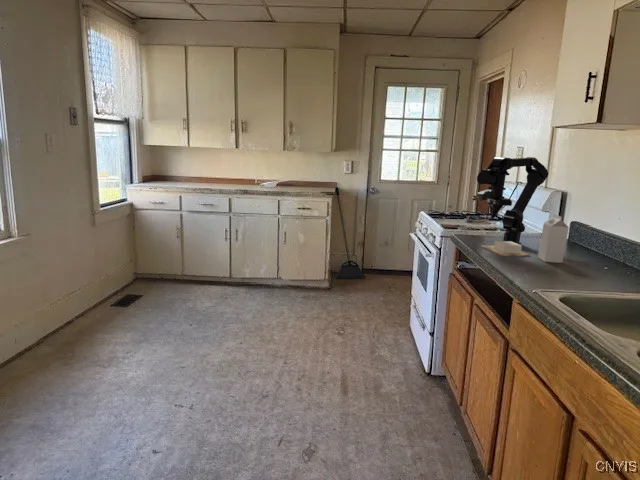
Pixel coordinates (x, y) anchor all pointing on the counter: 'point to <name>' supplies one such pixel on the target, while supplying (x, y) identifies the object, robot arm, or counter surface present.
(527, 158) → the robot arm
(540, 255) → the milk carton
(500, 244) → the cream box
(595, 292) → the counter surface
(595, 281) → the counter surface
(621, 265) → the counter surface
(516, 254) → the mat
